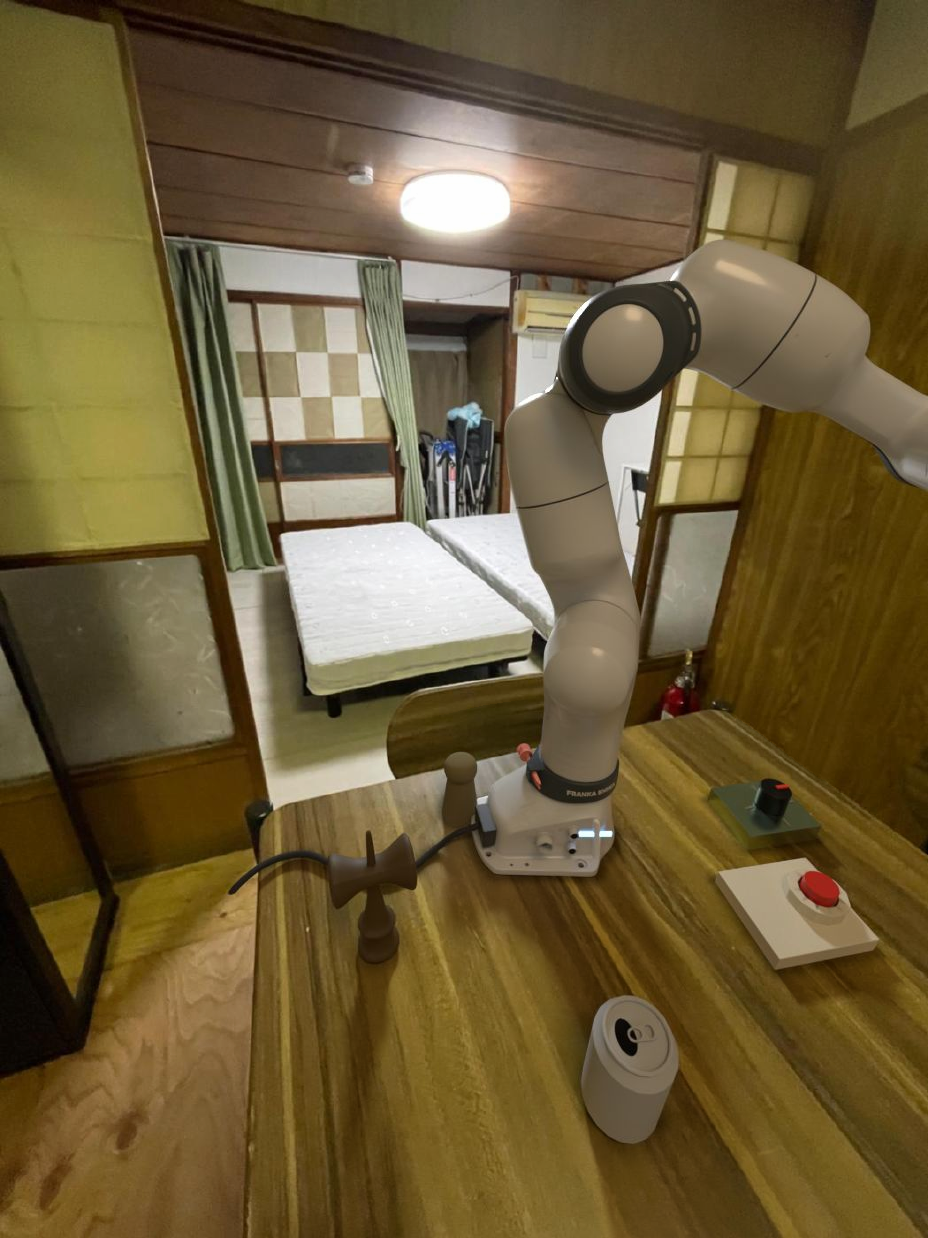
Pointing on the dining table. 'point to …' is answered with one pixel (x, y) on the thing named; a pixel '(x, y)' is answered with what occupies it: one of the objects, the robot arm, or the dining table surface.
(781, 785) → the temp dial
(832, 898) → the power button
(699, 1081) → the dining table surface
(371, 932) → the kendama
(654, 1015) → the can
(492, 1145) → the dining table surface
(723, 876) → the white button base
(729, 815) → the dial plate
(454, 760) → the brown wooden peg doll
